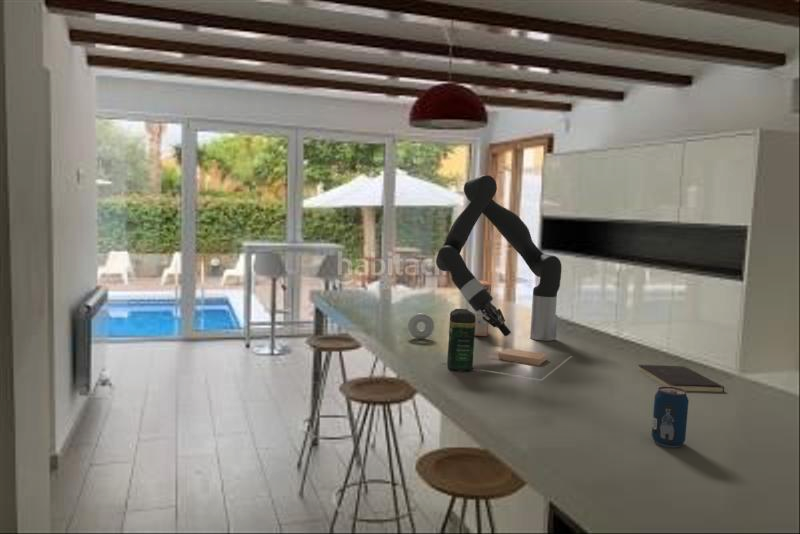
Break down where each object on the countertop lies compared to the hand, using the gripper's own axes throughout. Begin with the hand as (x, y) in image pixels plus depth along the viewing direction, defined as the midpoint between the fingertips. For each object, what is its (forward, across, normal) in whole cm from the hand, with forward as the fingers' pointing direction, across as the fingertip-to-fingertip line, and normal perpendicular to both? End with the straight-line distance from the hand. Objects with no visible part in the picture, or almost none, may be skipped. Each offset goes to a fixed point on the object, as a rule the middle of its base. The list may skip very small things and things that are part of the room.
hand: (508, 334), depth 215 cm
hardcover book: (+44, +7, -31) cm, 54 cm away
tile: (+4, 0, +6) cm, 7 cm away
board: (+8, 0, +4) cm, 9 cm away
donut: (-20, +10, +33) cm, 40 cm away
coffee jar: (0, -21, +12) cm, 24 cm away
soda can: (+45, -54, -33) cm, 78 cm away
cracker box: (-11, +36, +23) cm, 44 cm away
